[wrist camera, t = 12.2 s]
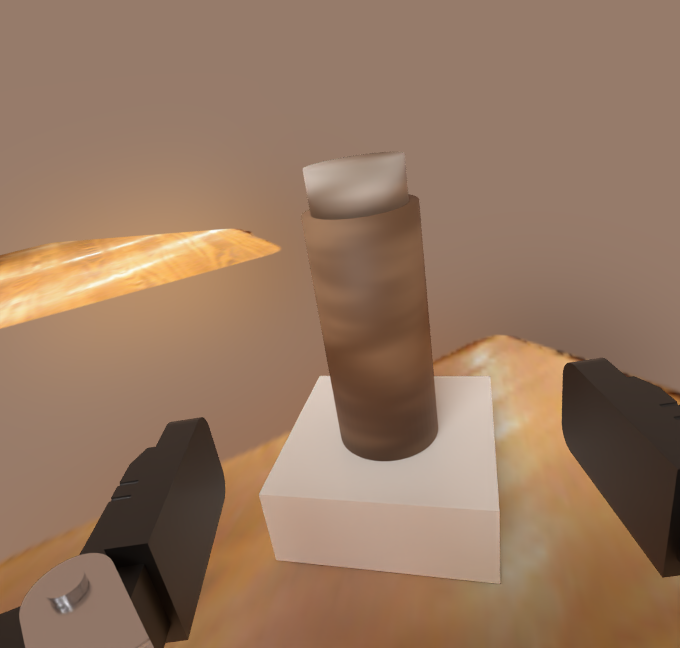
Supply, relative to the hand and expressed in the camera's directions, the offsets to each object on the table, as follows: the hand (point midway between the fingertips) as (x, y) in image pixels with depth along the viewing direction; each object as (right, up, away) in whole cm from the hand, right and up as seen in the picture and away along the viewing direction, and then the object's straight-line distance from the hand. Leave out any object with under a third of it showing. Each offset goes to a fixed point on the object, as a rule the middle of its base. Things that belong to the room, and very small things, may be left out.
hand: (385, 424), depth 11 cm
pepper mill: (+1, -3, +13) cm, 14 cm away
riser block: (+2, -7, +15) cm, 17 cm away
